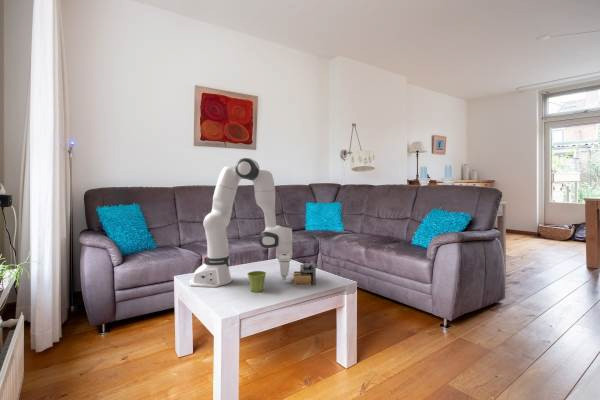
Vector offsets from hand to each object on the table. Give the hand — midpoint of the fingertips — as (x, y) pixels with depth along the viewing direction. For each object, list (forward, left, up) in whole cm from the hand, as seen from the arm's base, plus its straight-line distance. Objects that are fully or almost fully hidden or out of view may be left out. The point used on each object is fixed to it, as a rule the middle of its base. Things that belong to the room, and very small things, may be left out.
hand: (284, 279), depth 175 cm
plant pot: (-14, -11, -2) cm, 18 cm away
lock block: (+10, 0, -2) cm, 10 cm away
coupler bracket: (+14, 0, -2) cm, 14 cm away
